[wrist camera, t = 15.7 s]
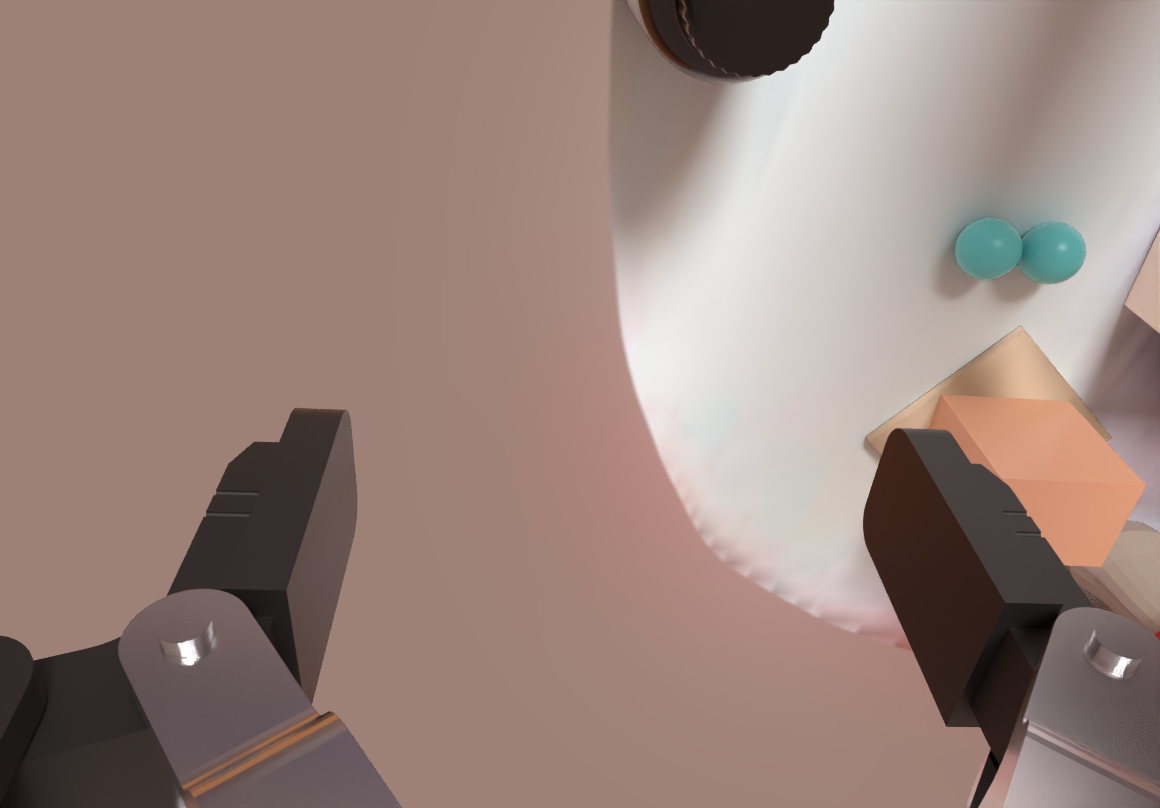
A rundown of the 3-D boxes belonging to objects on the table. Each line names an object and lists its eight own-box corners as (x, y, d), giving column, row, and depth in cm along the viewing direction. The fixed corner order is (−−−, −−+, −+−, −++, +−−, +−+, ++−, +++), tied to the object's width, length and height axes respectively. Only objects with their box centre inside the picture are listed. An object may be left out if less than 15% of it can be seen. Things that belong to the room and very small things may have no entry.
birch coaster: (1020, 325, 47) (1025, 331, 47) (1106, 431, 52) (1111, 437, 51) (865, 437, 51) (868, 443, 51) (957, 527, 55) (961, 534, 55)
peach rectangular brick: (912, 472, 52) (964, 561, 46) (941, 394, 49) (1000, 478, 43) (1033, 477, 52) (1101, 566, 46) (1068, 401, 50) (1146, 485, 43)
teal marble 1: (986, 195, 43) (1013, 218, 41) (1016, 236, 45) (1045, 260, 42) (933, 237, 44) (957, 262, 42) (965, 275, 46) (990, 302, 43)
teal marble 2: (1048, 200, 44) (1080, 223, 41) (1077, 240, 45) (1109, 265, 42) (994, 241, 45) (1022, 266, 42) (1024, 279, 46) (1053, 306, 43)
